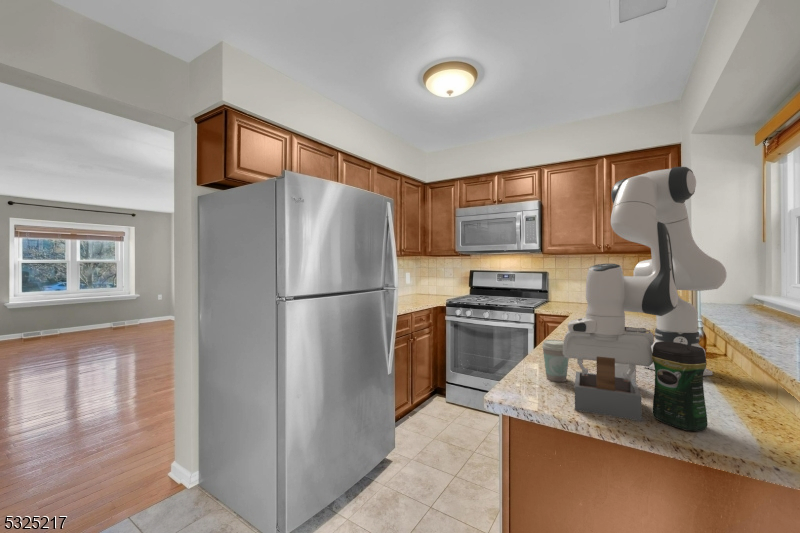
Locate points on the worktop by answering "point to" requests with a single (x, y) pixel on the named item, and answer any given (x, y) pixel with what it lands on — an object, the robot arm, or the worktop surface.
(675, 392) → the coffee jar
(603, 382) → the peg
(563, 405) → the worktop surface
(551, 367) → the coffee cup
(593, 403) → the box
